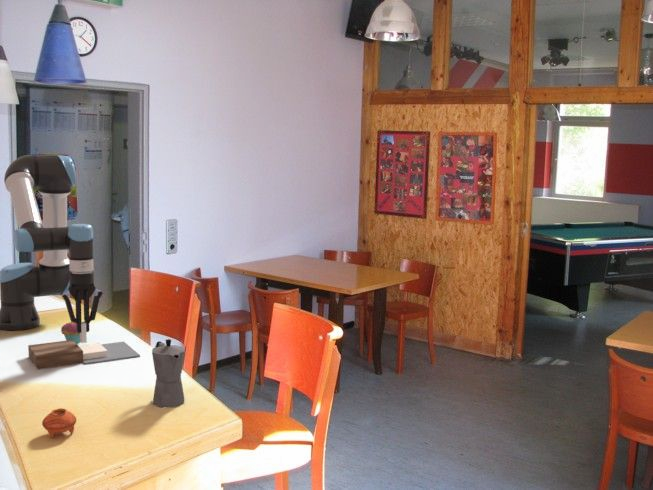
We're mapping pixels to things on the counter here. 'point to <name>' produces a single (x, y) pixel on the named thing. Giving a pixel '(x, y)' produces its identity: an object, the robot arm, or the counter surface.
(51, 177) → the robot arm
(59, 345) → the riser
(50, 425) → the pot
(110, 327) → the counter surface
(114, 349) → the mat
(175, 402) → the coffeepot
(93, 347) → the cream rectangular block
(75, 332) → the cupcake
